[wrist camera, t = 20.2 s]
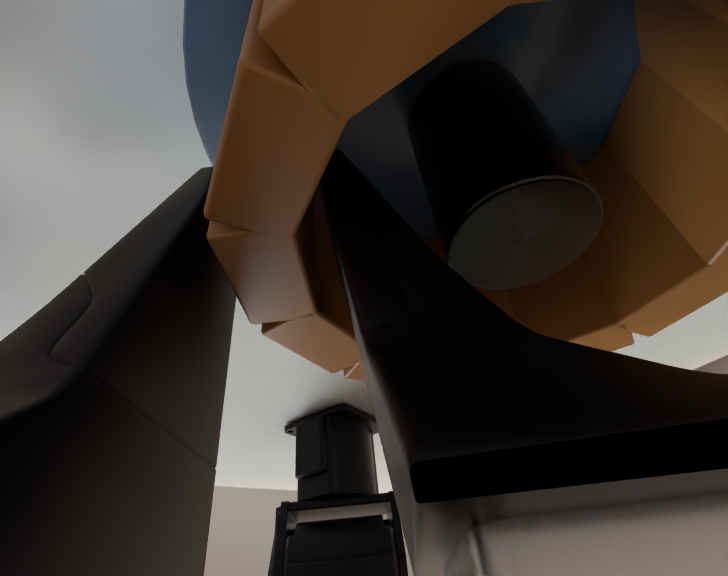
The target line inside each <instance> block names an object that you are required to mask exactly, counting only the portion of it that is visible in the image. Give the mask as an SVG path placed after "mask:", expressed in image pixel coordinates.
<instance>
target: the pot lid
mask: <svg viewBox="0 0 728 576" xmlns="http://www.w3.org/2000/svg"><path fill="white" fill-rule="evenodd" d="M252 3H253V0H184V25H183V52H184V62H185V73H186V84H187V89H188V94H189V98H190V102H191V107H192V111H193V115H194V120H195V123H196V126H197V129H198V131H199V134H200V137H201V139H202V142H203V145H204V147H205V150H206V153H207V155H208V157H209V159H210V161H211V163H212V165H213V166H214V164H215V160H216V155H217V151H218V146H219V142H220V138H221V133H222V129H223V125H224V120H225V116H226V112H227V107H228V103H229V99H230V94H231V90H232V86H233V81H234V77H235V73H236V68H237V64H238V60H239V56H240V52H241V48H242V44H243V40H244V36H245V32H246V28H247V24H248V20H249V15H250V11H251V7H252ZM639 61H640V51H639V44H638V36H637V28H636V21H635V13H634V5H633V0H552V1H543V2H535V3H527V4H518V5H510V6H507V7H506V8H505V9H503V10H502V11H500V12H499V13H498V14H496V15H495V16H493V17H492V18H491V19H489V20H488V21H486V22H485V23H484V24H482V25H481V26H479V27H478V28H477V29H475V30H474V31H472V32H471V33H470V34H468V35H467V36H465V37H464V38H463V39H461V40H460V41H458V42H457V43H456V44H454V45H453V46H451V47H450V48H448V49H447V50H446V51H444V52H443V53H441V54H440V55H439V56H437V57H436V58H434V59H433V60H432V61H430V62H429V63H427V64H426V65H425V66H423V67H422V68H420V69H419V70H418V71H416V72H415V73H413V74H412V75H411V76H409V77H408V78H406V79H405V80H404V81H402V82H401V83H399V84H398V85H397V86H395V87H394V88H392V89H391V90H389V91H388V92H387V93H385V94H384V95H382V96H381V97H380V98H378V99H377V100H375V101H374V102H373V103H371V104H370V105H368V106H367V107H366V108H364V109H363V110H361V111H360V112H359V113H357V114H356V115H354V116H353V117H352V118H350V119H349V120H348V121H347V123H346V125H345V127H344V130H343V132H342V134H341V136H340V138H339V140H338V143H337V145H336V147H335V149H334V150H337V149H339V150H341V151H342V152H343V153H344V154H345V155H346V156H347V157H348V158H349V159H350V160H351V162H352V163H353V164H354V165H355V166H356V167H357V168H358V169H359V170H360V171H361V173H362V174H363V175H364V176H365V177H366V178H367V179H368V180H369V181H370V183H371V184H372V185H373V186H374V187H375V188H376V189H377V190H378V191H379V192H380V194H381V195H382V196H383V197H384V198H385V199H386V200H387V201H388V202H389V204H390V205H391V206H392V207H393V208H394V209H395V210H396V211H397V212H398V213H399V215H400V216H401V217H402V218H403V219H404V220H405V221H406V222H407V223H408V225H409V226H410V227H411V228H412V230H413V231H415V232H416V233H417V234H418V235H419V237H420V238H421V239H422V240H424V239H432V238H439V240H440V243H441V246H442V250H443V253H444V257H445V260H446V263H447V264H448V265H449V266H450V267H451V268H452V269H453V270H455V271H456V272H457V273H458V274H459V275H460V276H462V277H463V278H464V279H465V280H466V281H468V282H469V283H470V284H471V285H472V286H474V287H477V288H482V289H492V290H500V289H511V288H516V287H521V286H525V285H529V284H532V283H535V282H538V281H540V280H543V279H545V278H547V277H549V276H551V275H553V274H555V273H557V272H559V271H560V270H562V269H564V268H565V267H567V266H568V265H570V264H571V263H572V262H573V261H575V260H576V259H577V258H578V257H579V256H580V255H581V254H583V253H584V252H585V250H586V249H587V248H588V247H589V246H590V245H591V243H592V242H593V241H594V239H595V238H596V236H597V234H598V232H599V230H600V227H601V225H602V221H603V215H604V206H603V201H602V198H601V196H600V193H599V192H598V190H597V189H596V188H595V186H594V185H593V183H592V182H591V181H590V179H589V178H588V177H587V175H586V174H585V172H584V171H583V170H582V168H581V166H582V165H583V164H584V163H585V162H586V161H587V160H588V159H589V158H590V157H591V156H592V155H593V154H594V153H595V152H596V151H597V150H598V149H599V148H600V147H601V146H602V145H603V144H604V142H605V141H606V140H607V137H608V135H609V132H610V130H611V128H612V125H613V123H614V121H615V118H616V116H617V113H618V111H619V109H620V106H621V104H622V102H623V99H624V97H625V94H626V92H627V90H628V87H629V85H630V83H631V80H632V78H633V75H634V73H635V71H636V68H637V66H638V63H639Z"/></svg>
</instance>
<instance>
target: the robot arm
mask: <svg viewBox="0 0 728 576" xmlns="http://www.w3.org/2000/svg"><path fill="white" fill-rule="evenodd" d="M213 168H214V166H213V167H206V168H201V169H200V170H199V171H197V172H196V173H195V174H194V175H193V176H192V177H191V178H190V179H188V180H187V181H186V182H185V183H184V184H183V185H182V186H181V187H179V188H178V189H177V190H176V191H175V192H174V193H173V194H172V195H170V196H169V197H168V198H167V199H166V200H165V201H164V202H163V203H161V204H160V205H159V206H158V207H157V208H156V209H155V210H153V211H152V212H151V213H150V214H149V215H148V216H147V217H146V218H144V219H143V220H142V221H141V222H140V223H139V224H138V225H137V226H135V227H134V228H133V229H132V230H131V231H130V232H129V233H128V234H126V235H125V236H124V237H123V238H122V239H121V240H120V241H119V242H117V243H116V244H115V245H114V246H113V247H112V248H111V249H110V250H108V251H107V252H106V253H105V254H104V255H103V256H102V257H101V258H99V259H98V260H97V261H96V262H95V263H94V264H93V265H92V266H90V267H89V268H88V269H87V270H86V271H85V272H84V274H85V275H80V276H79V277H78V278H77V279H76V280H75V281H73V282H72V283H71V284H70V285H69V286H68V287H67V288H66V289H64V290H63V291H62V292H61V293H60V294H59V295H57V296H56V297H55V298H54V299H53V300H52V301H50V302H49V303H48V304H47V305H46V306H45V307H43V308H42V309H41V310H40V311H38V312H37V313H36V314H35V315H33V316H32V317H31V318H30V319H28V320H27V321H26V322H25V323H23V324H22V325H21V326H19V327H18V328H17V329H16V330H14V331H13V332H12V333H11V334H9V335H8V336H7V337H5V338H4V339H3V340H2V341H0V576H203V575H204V567H205V558H206V549H207V541H208V533H209V524H210V516H211V508H212V499H213V491H214V482H215V474H216V469H215V467H216V463H217V455H218V446H219V438H220V429H221V421H222V412H223V404H224V395H225V387H226V378H227V370H228V361H229V353H230V344H231V336H232V327H233V319H234V310H235V302H236V294H235V292H234V290H233V288H232V286H231V284H230V283H229V281H228V279H227V277H226V275H225V273H224V271H223V269H222V267H221V265H220V263H219V261H218V259H217V257H216V256H215V254H214V252H213V250H212V248H211V246H210V244H209V242H208V240H207V232H208V228H209V223H210V220H208V219H206V218H205V215H204V207H205V203H206V199H207V194H208V190H209V186H210V181H211V177H212V173H213ZM320 187H321V192H322V197H323V201H324V206H325V210H326V215H327V220H328V224H329V229H330V233H331V238H332V242H333V247H334V251H335V256H336V260H337V265H338V269H339V273H340V277H341V281H342V285H343V289H344V293H345V297H346V301H347V305H348V309H349V313H350V318H351V322H352V326H353V330H354V334H355V338H356V342H357V346H358V350H359V354H360V358H361V362H362V366H363V370H364V374H365V378H366V383H367V387H368V391H369V395H370V399H371V403H372V407H373V411H374V415H375V418H374V417H372V416H370V415H368V414H365V413H363V412H361V411H359V410H357V409H355V408H353V407H351V406H348V405H346V404H340V405H337V406H334V407H332V408H329V409H327V410H324V411H322V412H319V413H317V414H314V415H312V416H309V417H307V418H304V419H302V420H299V421H296V422H294V423H291V424H289V425H286V426H285V433H287V434H290V435H293V436H296V470H295V476H296V478H297V479H298V502H289V501H285V502H281V507H278V508H276V524H275V536H274V542H273V547H272V553H271V559H270V566H269V571H268V576H408V570H407V561H406V554H405V547H404V541H403V534H402V529H403V533H404V537H405V541H406V545H407V548H408V553H409V557H410V561H411V565H412V569H413V574H414V576H728V374H716V373H708V372H700V371H693V370H688V369H683V368H678V367H673V366H668V365H664V364H660V363H656V362H652V361H648V360H643V359H639V358H635V357H631V356H627V355H623V354H618V353H614V352H610V351H606V350H602V349H598V348H593V347H589V346H585V345H581V344H577V343H573V342H569V341H564V340H560V339H556V338H552V337H548V336H545V335H542V334H539V333H537V332H534V331H533V330H531V329H529V328H527V327H525V326H523V325H522V324H520V323H519V322H517V321H516V320H514V319H513V318H512V317H510V316H509V315H508V314H506V313H505V312H504V311H503V310H502V309H500V308H499V307H498V306H497V305H495V304H494V303H493V302H492V301H491V300H489V299H488V298H487V297H486V296H485V295H483V294H482V293H481V292H480V291H479V290H477V289H476V288H475V287H474V286H472V285H471V284H470V283H469V282H468V281H466V280H465V279H464V278H463V277H462V276H460V275H459V274H458V273H457V272H456V271H455V270H453V269H452V268H451V267H450V266H449V265H448V264H447V263H445V262H444V261H443V260H442V259H441V258H440V257H439V256H438V255H437V254H436V253H435V252H434V251H433V250H432V249H431V248H430V247H429V246H428V245H427V244H426V243H425V242H424V241H423V240H422V239H421V238H420V237H419V235H418V234H417V233H416V232H415V231H413V230H412V228H411V227H410V226H409V225H408V223H407V222H406V221H405V220H404V219H403V218H402V217H401V216H400V215H399V213H398V212H397V211H396V210H395V209H394V208H393V207H392V206H391V205H390V204H389V202H388V201H387V200H386V199H385V198H384V197H383V196H382V195H381V194H380V192H379V191H378V190H377V189H376V188H375V187H374V186H373V185H372V184H371V183H370V181H369V180H368V179H367V178H366V177H365V176H364V175H363V174H362V173H361V171H360V170H359V169H358V168H357V167H356V166H355V165H354V164H353V163H352V162H351V160H350V159H349V158H348V157H347V156H346V155H345V154H344V153H343V152H342V151H341V150H339V149H337V150H334V151H333V153H332V156H331V158H330V160H329V162H328V164H327V167H326V169H325V171H324V173H323V175H322V177H321V180H320ZM376 433H379V435H380V439H381V443H382V447H383V452H384V456H385V460H386V464H387V468H388V472H389V476H390V480H391V484H392V488H393V491H389V492H388V493H381V494H379V492H378V483H377V473H376V463H375V453H374V443H373V434H376ZM384 514H387V520H383V517H382V515H384ZM400 521H401V522H400ZM401 524H402V528H401Z"/></svg>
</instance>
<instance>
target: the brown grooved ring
mask: <svg viewBox="0 0 728 576" xmlns="http://www.w3.org/2000/svg"><path fill="white" fill-rule="evenodd" d="M543 1H552V0H253V3H252V7H251V11H250V15H249V20H248V24H247V28H246V32H245V36H244V40H243V44H242V48H241V52H240V56H239V60H238V64H237V68H236V73H235V77H234V81H233V86H232V90H231V94H230V99H229V103H228V107H227V112H226V116H225V120H224V125H223V129H222V133H221V138H220V142H219V146H218V151H217V155H216V160H215V164H214V168H213V173H212V177H211V181H210V186H209V190H208V194H207V199H206V203H205V207H204V215H205V218H206V219H208V220H210V223H209V228H208V232H207V240H208V242H209V244H210V246H211V248H212V250H213V252H214V254H215V256H216V257H217V259H218V261H219V263H220V265H221V267H222V269H223V271H224V273H225V275H226V277H227V279H228V281H229V283H230V284H231V286H232V288H233V290H234V292H235V294H236V296H237V298H238V300H239V302H240V304H241V306H242V308H243V309H244V311H245V313H246V315H247V317H248V319H249V321H250V323H251V324H261V323H262V329H261V332H262V334H263V335H264V336H266V337H268V338H270V339H271V340H273V341H275V342H277V343H279V344H280V345H282V346H284V347H286V348H288V349H289V350H291V351H293V352H295V353H296V354H298V355H300V356H302V357H304V358H305V359H307V360H309V361H311V362H313V363H314V364H316V365H318V366H320V367H321V368H323V369H325V370H327V371H329V372H330V373H336V372H338V371H340V370H343V369H344V376H345V377H346V378H351V379H358V380H365V381H366V378H365V374H364V370H363V366H362V362H361V358H360V354H359V350H358V346H357V342H356V338H355V334H354V330H353V326H352V322H351V318H350V313H349V309H348V305H347V301H346V297H345V293H344V289H343V285H342V281H341V277H340V273H339V269H338V265H337V260H336V256H335V251H334V247H333V242H332V238H331V233H330V229H329V224H328V220H327V215H326V210H325V206H324V201H323V197H322V192H321V187H320V180H321V177H322V175H323V173H324V171H325V169H326V167H327V164H328V162H329V160H330V158H331V156H332V153H333V151H334V149H335V147H336V145H337V143H338V140H339V138H340V136H341V134H342V132H343V130H344V127H345V125H346V123H347V121H348V120H349V119H350V118H352V117H353V116H354V115H356V114H357V113H359V112H360V111H361V110H363V109H364V108H366V107H367V106H368V105H370V104H371V103H373V102H374V101H375V100H377V99H378V98H380V97H381V96H382V95H384V94H385V93H387V92H388V91H389V90H391V89H392V88H394V87H395V86H397V85H398V84H399V83H401V82H402V81H404V80H405V79H406V78H408V77H409V76H411V75H412V74H413V73H415V72H416V71H418V70H419V69H420V68H422V67H423V66H425V65H426V64H427V63H429V62H430V61H432V60H433V59H434V58H436V57H437V56H439V55H440V54H441V53H443V52H444V51H446V50H447V49H448V48H450V47H451V46H453V45H454V44H456V43H457V42H458V41H460V40H461V39H463V38H464V37H465V36H467V35H468V34H470V33H471V32H472V31H474V30H475V29H477V28H478V27H479V26H481V25H482V24H484V23H485V22H486V21H488V20H489V19H491V18H492V17H493V16H495V15H496V14H498V13H499V12H500V11H502V10H503V9H505V8H506V7H507V6H510V5H518V4H527V3H535V2H543ZM633 5H634V13H635V21H636V28H637V36H638V44H639V51H640V61H639V63H638V66H637V68H636V71H635V73H634V75H633V78H632V80H631V83H630V85H629V87H628V90H627V92H626V94H625V97H624V99H623V102H622V104H621V106H620V109H619V111H618V113H617V116H616V118H615V121H614V123H613V125H612V128H611V130H610V132H609V135H608V137H607V140H606V141H605V142H604V144H603V145H602V146H601V147H600V148H599V149H598V150H597V151H596V152H595V153H594V154H593V155H592V156H591V157H590V158H589V159H588V160H587V161H586V162H585V163H584V164H583V165H582V166H581V168H582V170H583V171H584V172H585V174H586V175H587V177H588V178H589V179H590V181H591V182H592V183H593V185H594V186H595V188H596V189H597V190H598V192H599V193H600V196H601V198H602V201H603V206H604V215H603V221H602V225H601V227H600V230H599V232H598V234H597V236H596V238H595V239H594V241H593V242H592V243H591V245H590V246H589V247H588V248H587V249H586V250H585V252H584V253H583V254H581V255H580V256H579V257H578V258H577V259H576V260H575V261H573V262H572V263H571V264H570V265H568V266H567V267H565V268H564V269H562V270H560V271H559V272H557V273H555V274H553V275H551V276H549V277H547V278H545V279H543V280H540V281H538V282H535V283H532V284H529V285H525V286H521V287H516V288H511V289H500V290H492V289H482V288H477V287H475V288H476V289H477V290H479V291H480V292H481V293H482V294H483V295H485V296H486V297H487V298H488V299H489V300H491V301H492V302H493V303H494V304H495V305H497V306H498V307H499V308H500V309H502V310H503V311H504V312H505V313H506V314H508V315H509V316H510V317H512V318H513V319H514V320H516V321H517V322H519V323H520V324H522V325H523V326H525V327H527V328H529V329H531V330H533V331H534V332H537V333H539V334H542V335H545V336H548V337H552V338H556V339H560V340H564V341H569V342H573V343H577V344H581V345H585V346H589V347H593V348H598V349H602V350H606V351H610V352H611V351H614V350H617V349H620V348H623V347H626V346H629V345H632V344H633V343H634V339H633V336H632V333H631V332H633V333H637V334H640V335H644V336H652V335H654V334H655V333H657V332H659V331H661V330H662V329H664V328H666V327H668V326H669V325H671V324H673V323H674V322H676V321H678V320H680V319H681V318H683V317H685V316H686V315H688V314H690V313H692V312H693V311H695V310H697V309H699V308H700V307H702V306H704V305H705V304H707V303H709V302H711V301H712V300H714V299H716V298H718V297H719V296H721V295H723V294H724V293H726V292H728V0H633ZM423 241H424V242H425V243H426V244H427V245H428V246H429V247H430V248H431V249H432V250H433V251H434V252H435V253H436V254H437V255H438V256H439V257H440V258H441V259H442V260H443V261H444V262H445V263H446V260H445V257H444V253H443V250H442V246H441V243H440V240H439V238H432V239H424V240H423Z"/></svg>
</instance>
